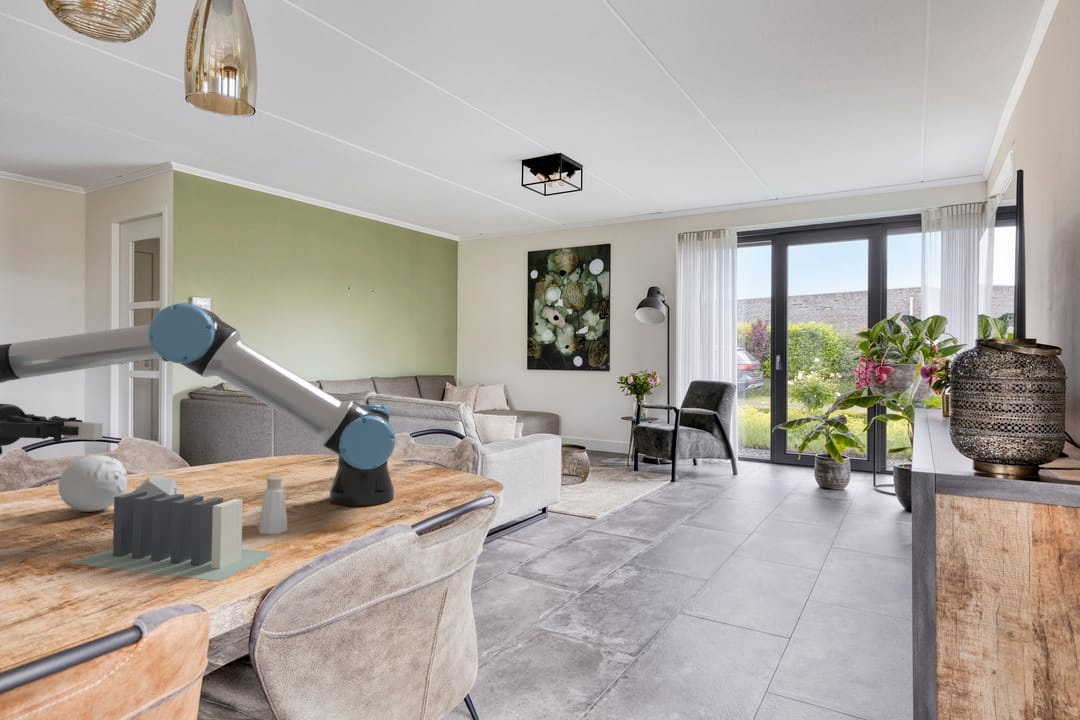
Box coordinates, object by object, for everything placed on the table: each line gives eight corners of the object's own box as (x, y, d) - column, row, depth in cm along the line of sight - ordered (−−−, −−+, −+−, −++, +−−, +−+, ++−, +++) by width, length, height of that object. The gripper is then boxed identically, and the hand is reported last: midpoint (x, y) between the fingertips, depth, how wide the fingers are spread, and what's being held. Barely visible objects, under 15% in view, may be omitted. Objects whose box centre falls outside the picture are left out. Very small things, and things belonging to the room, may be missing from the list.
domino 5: (190, 565, 99) (192, 504, 99) (213, 555, 104) (214, 497, 104) (199, 566, 99) (200, 504, 99) (221, 556, 104) (222, 497, 104)
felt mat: (69, 566, 99) (69, 562, 99) (142, 541, 112) (142, 538, 112) (219, 585, 93) (219, 581, 93) (277, 556, 107) (277, 552, 107)
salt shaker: (290, 528, 123) (292, 474, 123) (284, 536, 118) (285, 479, 117) (262, 529, 122) (263, 474, 122) (254, 537, 117) (255, 480, 117)
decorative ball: (104, 518, 126) (106, 461, 126) (43, 518, 125) (44, 460, 125) (138, 504, 138) (139, 451, 138) (82, 503, 137) (83, 450, 137)
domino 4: (170, 562, 100) (172, 502, 100) (193, 553, 105) (195, 495, 105) (179, 563, 100) (180, 503, 99) (201, 554, 104) (203, 496, 104)
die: (143, 525, 125) (177, 485, 127) (113, 501, 126) (147, 463, 129) (165, 528, 132) (197, 491, 135) (136, 506, 134) (168, 469, 137)
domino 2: (132, 558, 101) (133, 498, 101) (156, 549, 106) (158, 492, 106) (140, 559, 101) (141, 499, 101) (164, 550, 106) (165, 492, 106)
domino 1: (112, 556, 102) (114, 496, 102) (138, 547, 107) (139, 490, 107) (120, 557, 102) (122, 497, 102) (145, 548, 107) (147, 491, 107)
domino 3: (150, 560, 101) (152, 500, 101) (174, 551, 106) (176, 493, 105) (159, 561, 100) (160, 501, 100) (182, 552, 105) (184, 494, 105)
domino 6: (211, 567, 98) (212, 505, 98) (232, 557, 103) (234, 499, 103) (219, 568, 98) (221, 506, 98) (241, 558, 103) (242, 499, 103)
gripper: (26, 439, 117) (130, 448, 112) (-52, 449, 104) (61, 459, 99) (28, 400, 117) (131, 407, 112) (-51, 405, 104) (62, 413, 99)
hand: (98, 431), depth 106 cm, fingers closed
